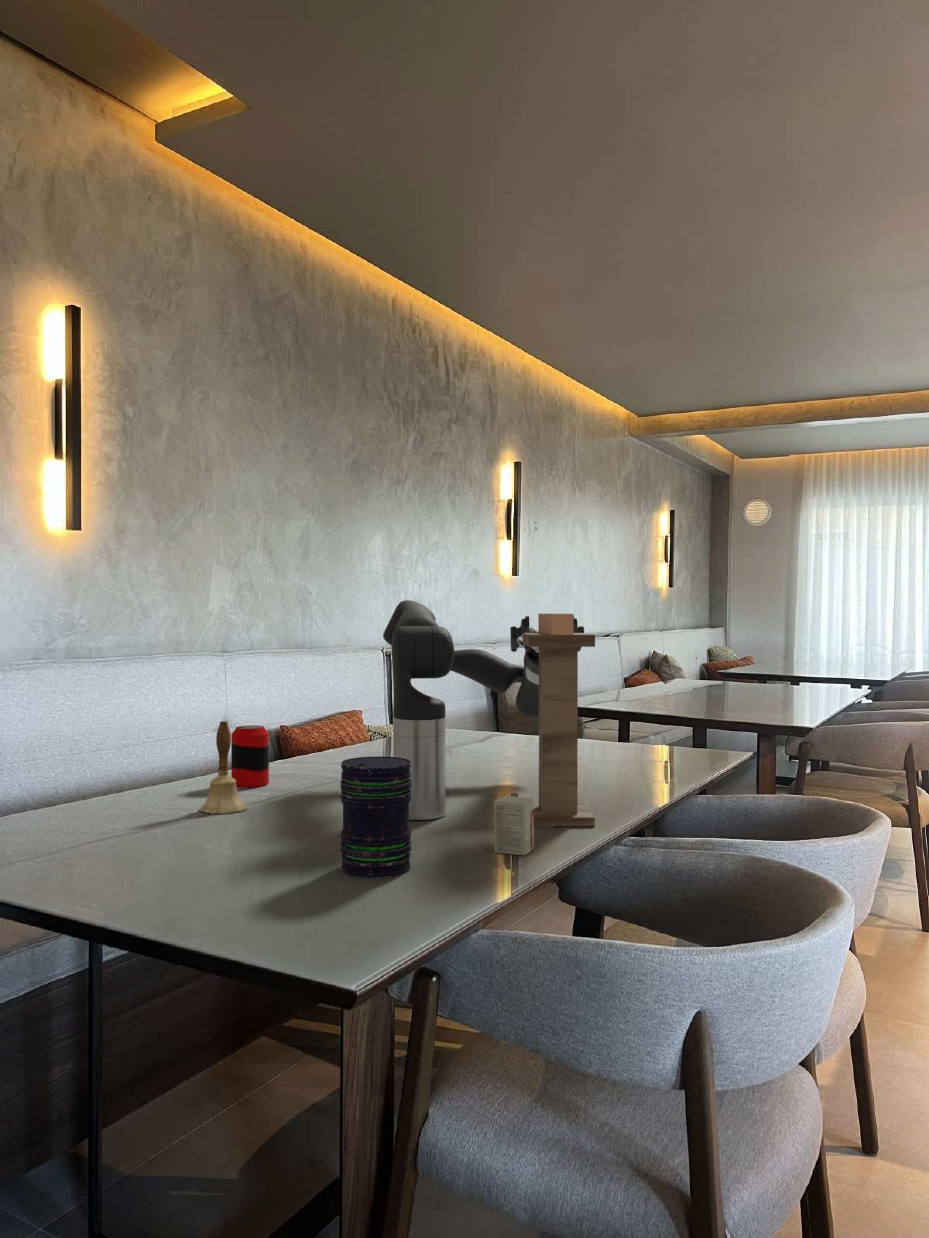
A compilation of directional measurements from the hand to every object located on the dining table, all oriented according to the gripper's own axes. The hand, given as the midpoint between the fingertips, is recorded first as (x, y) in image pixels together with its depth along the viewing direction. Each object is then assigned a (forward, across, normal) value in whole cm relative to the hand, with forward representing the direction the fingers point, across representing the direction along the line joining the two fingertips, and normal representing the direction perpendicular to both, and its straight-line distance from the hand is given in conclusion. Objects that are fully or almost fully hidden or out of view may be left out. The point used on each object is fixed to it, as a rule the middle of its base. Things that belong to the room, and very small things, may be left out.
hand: (550, 620), depth 177 cm
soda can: (-33, +60, -20) cm, 72 cm away
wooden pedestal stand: (-6, 0, -36) cm, 37 cm away
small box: (+14, +9, -48) cm, 51 cm away
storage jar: (+22, +29, -53) cm, 64 cm away
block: (+7, 0, -7) cm, 10 cm away
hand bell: (-12, +60, -32) cm, 69 cm away
